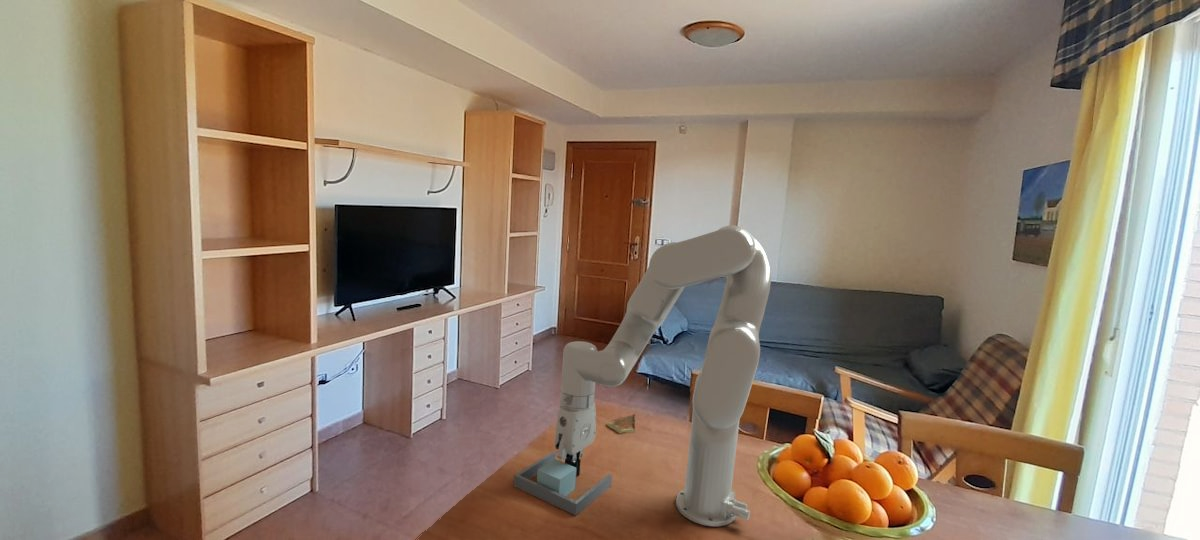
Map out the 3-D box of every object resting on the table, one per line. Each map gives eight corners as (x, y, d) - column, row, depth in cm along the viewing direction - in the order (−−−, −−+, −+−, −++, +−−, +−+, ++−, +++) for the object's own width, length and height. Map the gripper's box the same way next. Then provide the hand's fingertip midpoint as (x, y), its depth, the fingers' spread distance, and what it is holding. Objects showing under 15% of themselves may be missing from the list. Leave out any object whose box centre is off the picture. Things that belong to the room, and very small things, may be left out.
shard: (634, 418, 150) (634, 413, 150) (651, 429, 144) (652, 423, 144) (605, 426, 143) (606, 420, 143) (623, 437, 137) (623, 431, 137)
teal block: (575, 489, 110) (576, 467, 110) (558, 501, 105) (560, 479, 105) (553, 479, 114) (554, 458, 113) (536, 491, 109) (537, 469, 108)
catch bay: (611, 485, 113) (612, 475, 112) (575, 515, 101) (576, 504, 101) (552, 460, 122) (553, 451, 121) (513, 486, 110) (514, 475, 110)
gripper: (571, 413, 103) (565, 496, 106) (609, 392, 116) (603, 467, 118) (542, 403, 107) (537, 483, 110) (582, 384, 120) (577, 456, 122)
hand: (571, 474), depth 114 cm, fingers closed
